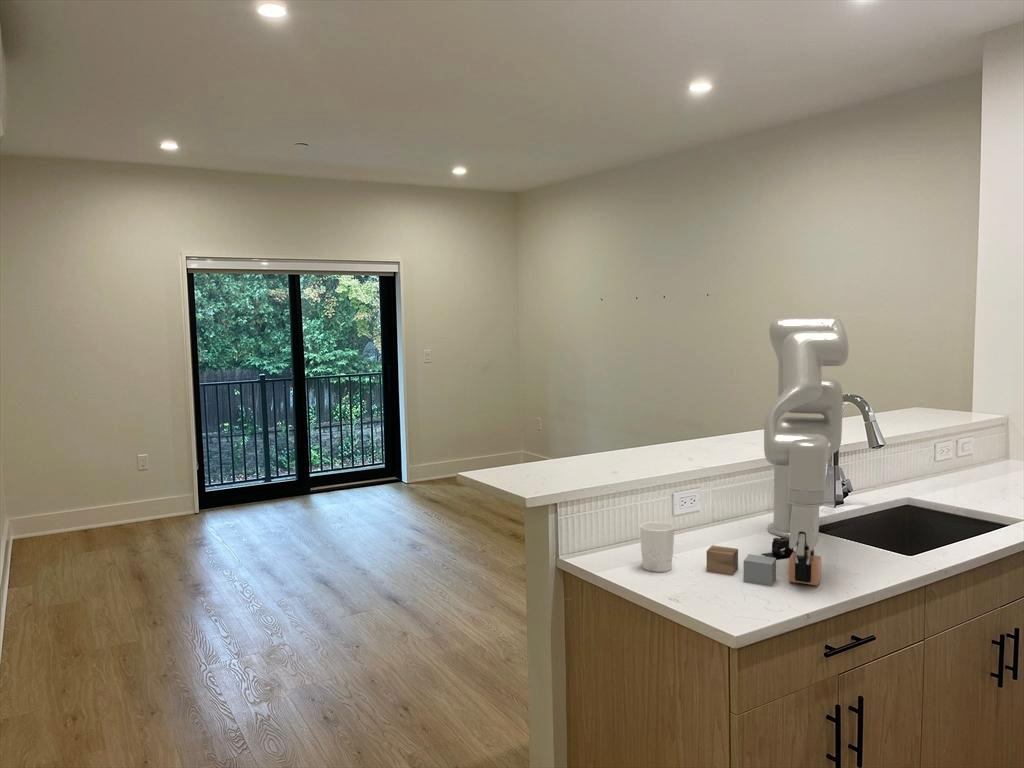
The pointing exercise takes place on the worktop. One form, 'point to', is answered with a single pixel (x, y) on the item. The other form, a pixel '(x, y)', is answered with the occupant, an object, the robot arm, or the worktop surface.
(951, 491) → the worktop surface
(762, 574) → the slate grey block
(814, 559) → the terracotta block
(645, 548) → the white cup
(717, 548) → the walnut block
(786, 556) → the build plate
